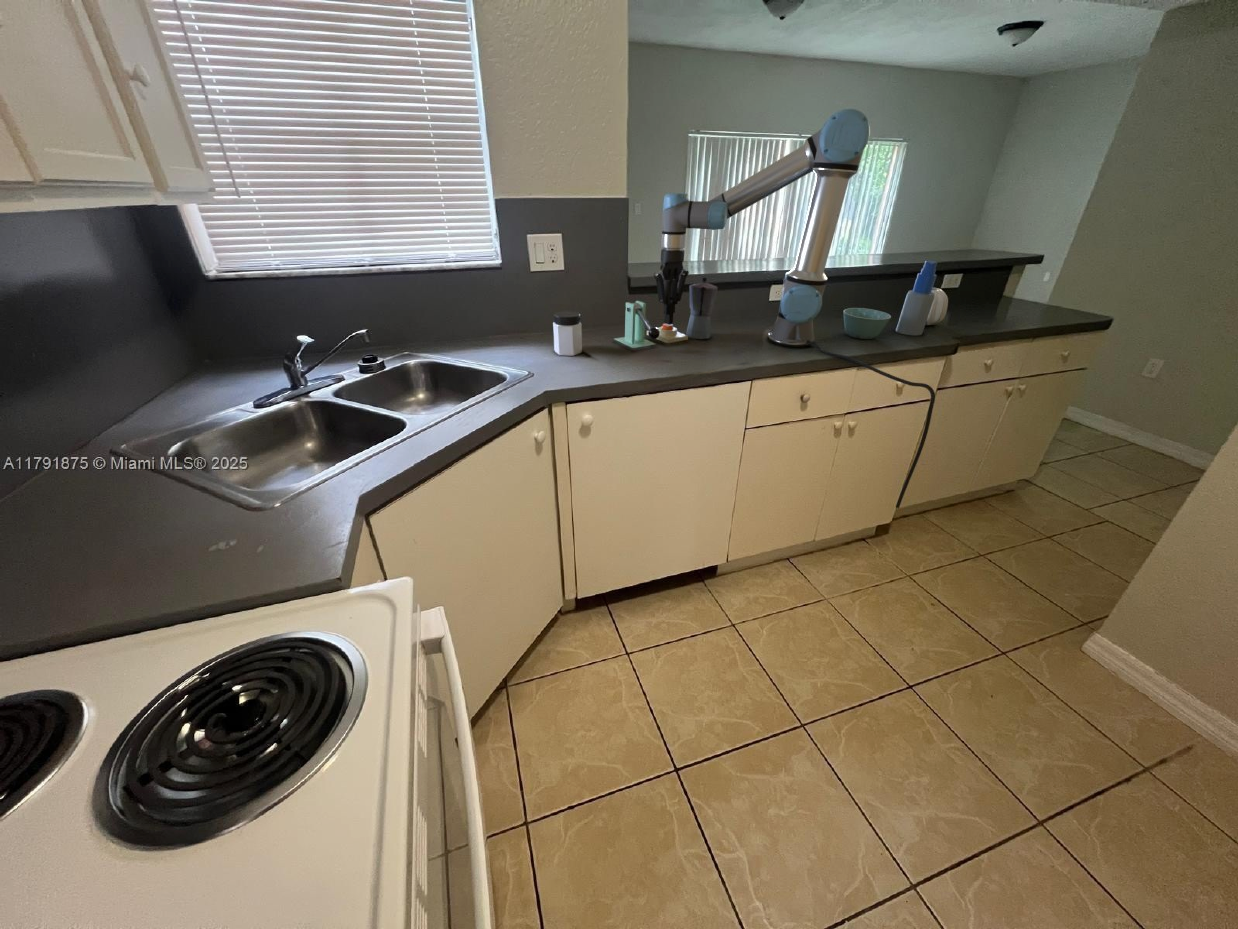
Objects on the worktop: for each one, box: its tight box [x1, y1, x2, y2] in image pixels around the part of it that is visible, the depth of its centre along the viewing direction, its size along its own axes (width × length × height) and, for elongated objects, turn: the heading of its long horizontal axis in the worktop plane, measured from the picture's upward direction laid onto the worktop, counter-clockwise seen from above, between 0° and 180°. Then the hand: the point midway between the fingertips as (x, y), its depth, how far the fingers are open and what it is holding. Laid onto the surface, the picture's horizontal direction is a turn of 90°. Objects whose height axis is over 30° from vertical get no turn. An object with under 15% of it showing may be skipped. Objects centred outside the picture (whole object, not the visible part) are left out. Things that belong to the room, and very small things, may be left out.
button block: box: [646, 326, 689, 344], centre depth 168 cm, size 12×9×4 cm
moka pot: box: [685, 277, 718, 340], centre depth 168 cm, size 10×15×20 cm, turn 174°
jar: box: [552, 310, 583, 357], centre depth 153 cm, size 9×8×12 cm
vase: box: [925, 287, 949, 326], centre depth 192 cm, size 14×14×13 cm
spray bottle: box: [895, 260, 938, 336], centre depth 177 cm, size 9×9×25 cm
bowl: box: [843, 307, 892, 340], centre depth 176 cm, size 16×16×8 cm
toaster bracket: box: [614, 300, 656, 349], centre depth 160 cm, size 12×9×14 cm
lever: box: [631, 302, 660, 340], centre depth 155 cm, size 15×4×4 cm
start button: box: [661, 323, 674, 330], centre depth 167 cm, size 4×4×2 cm
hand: (668, 323), depth 166 cm, fingers closed
